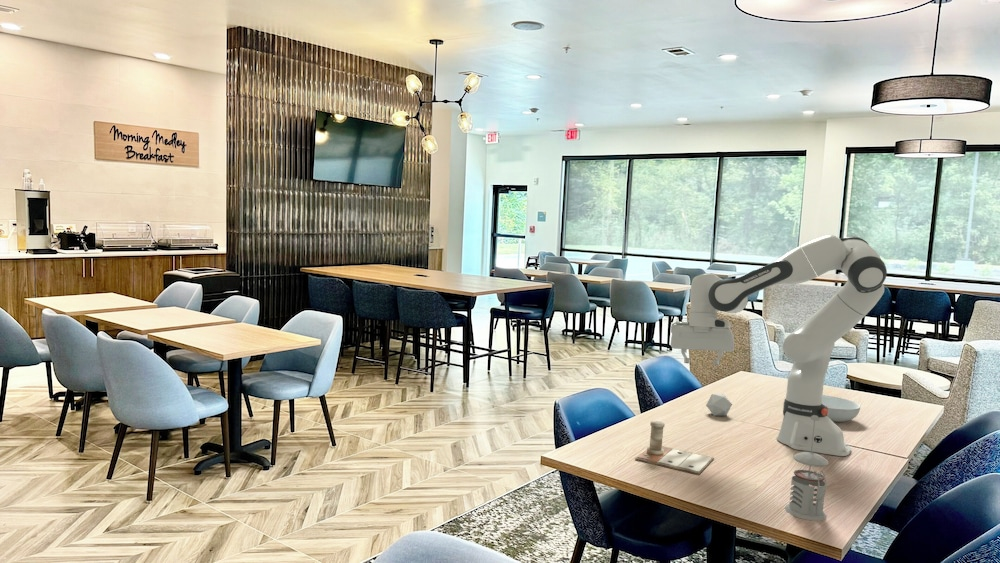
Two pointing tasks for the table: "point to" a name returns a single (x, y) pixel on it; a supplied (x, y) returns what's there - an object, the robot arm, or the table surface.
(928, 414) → the table surface
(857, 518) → the table surface
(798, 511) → the french press
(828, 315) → the robot arm
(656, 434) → the beige flanged column
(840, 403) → the serving bowl
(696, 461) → the game board
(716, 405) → the die
